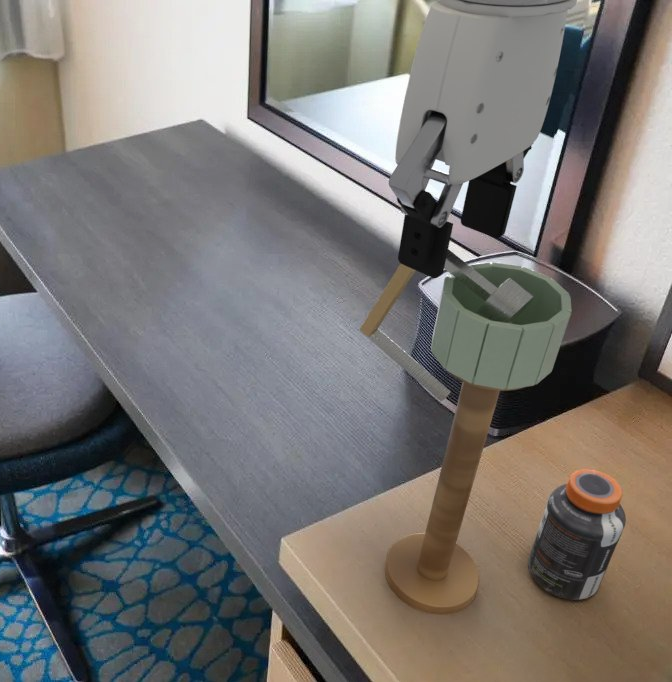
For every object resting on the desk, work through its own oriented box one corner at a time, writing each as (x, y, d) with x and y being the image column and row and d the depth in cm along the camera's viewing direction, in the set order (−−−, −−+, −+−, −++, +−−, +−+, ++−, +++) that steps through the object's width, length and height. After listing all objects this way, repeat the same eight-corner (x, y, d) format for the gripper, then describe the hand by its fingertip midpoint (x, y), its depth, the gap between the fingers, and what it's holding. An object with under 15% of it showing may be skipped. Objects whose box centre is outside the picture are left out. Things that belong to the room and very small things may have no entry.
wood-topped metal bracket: (541, 289, 52) (441, 212, 55) (518, 310, 50) (416, 229, 53) (455, 389, 62) (374, 318, 65) (433, 409, 60) (350, 335, 63)
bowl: (573, 353, 55) (594, 294, 52) (512, 405, 51) (530, 345, 48) (471, 307, 60) (485, 250, 57) (408, 351, 56) (419, 293, 53)
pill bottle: (612, 599, 68) (653, 508, 62) (546, 605, 68) (580, 514, 62) (576, 545, 73) (611, 456, 67) (515, 551, 73) (543, 462, 66)
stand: (494, 579, 71) (573, 353, 55) (442, 632, 67) (512, 405, 51) (418, 527, 76) (471, 307, 60) (366, 574, 72) (408, 351, 56)
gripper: (528, -62, 50) (473, 192, 61) (356, -9, 42) (327, 275, 52) (649, -47, 45) (566, 225, 56) (483, 17, 37) (423, 323, 48)
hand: (451, 247), depth 54 cm, fingers open, 6 cm apart
